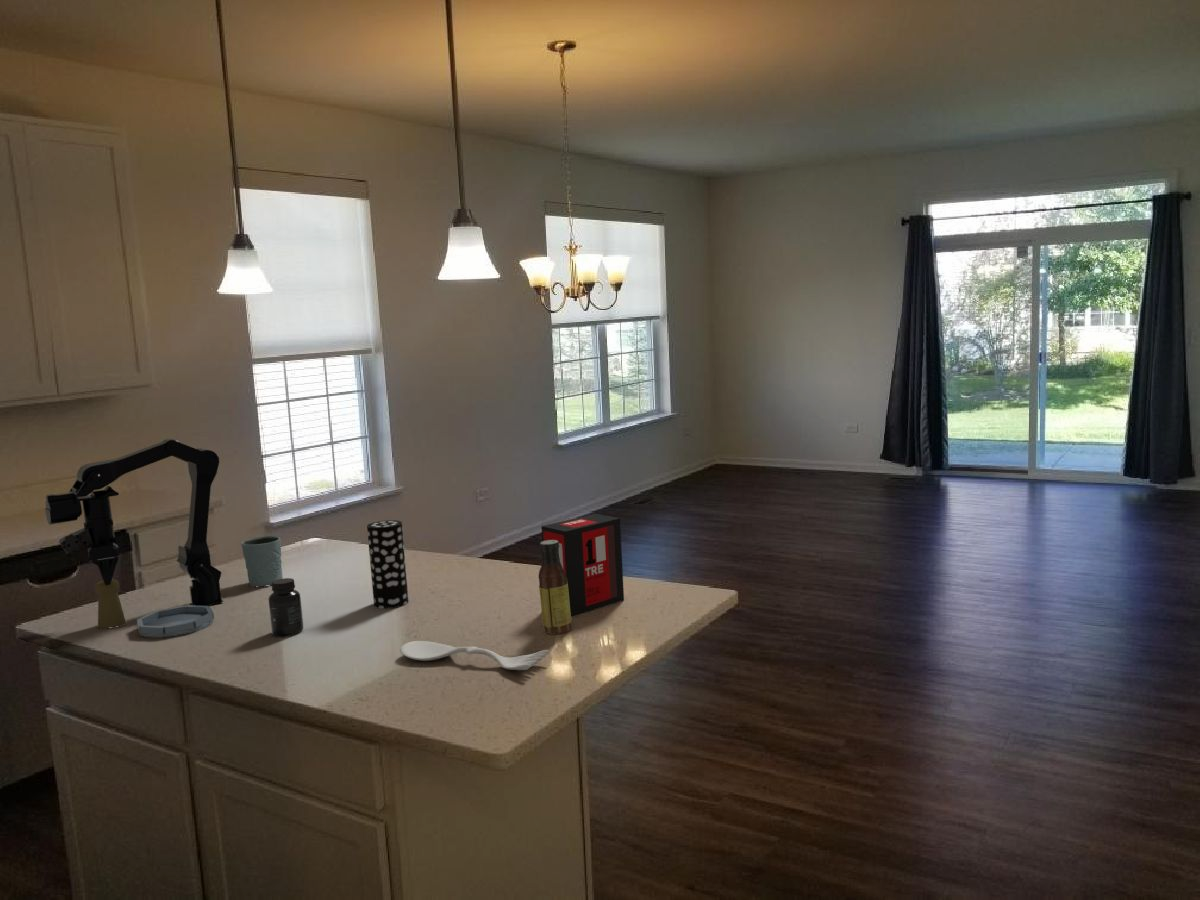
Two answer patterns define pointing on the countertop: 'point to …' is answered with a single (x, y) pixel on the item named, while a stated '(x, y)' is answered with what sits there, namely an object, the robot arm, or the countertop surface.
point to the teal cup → (263, 560)
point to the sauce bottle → (553, 590)
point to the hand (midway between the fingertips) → (106, 580)
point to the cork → (109, 605)
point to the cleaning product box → (590, 560)
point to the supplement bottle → (285, 608)
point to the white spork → (437, 651)
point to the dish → (175, 621)
